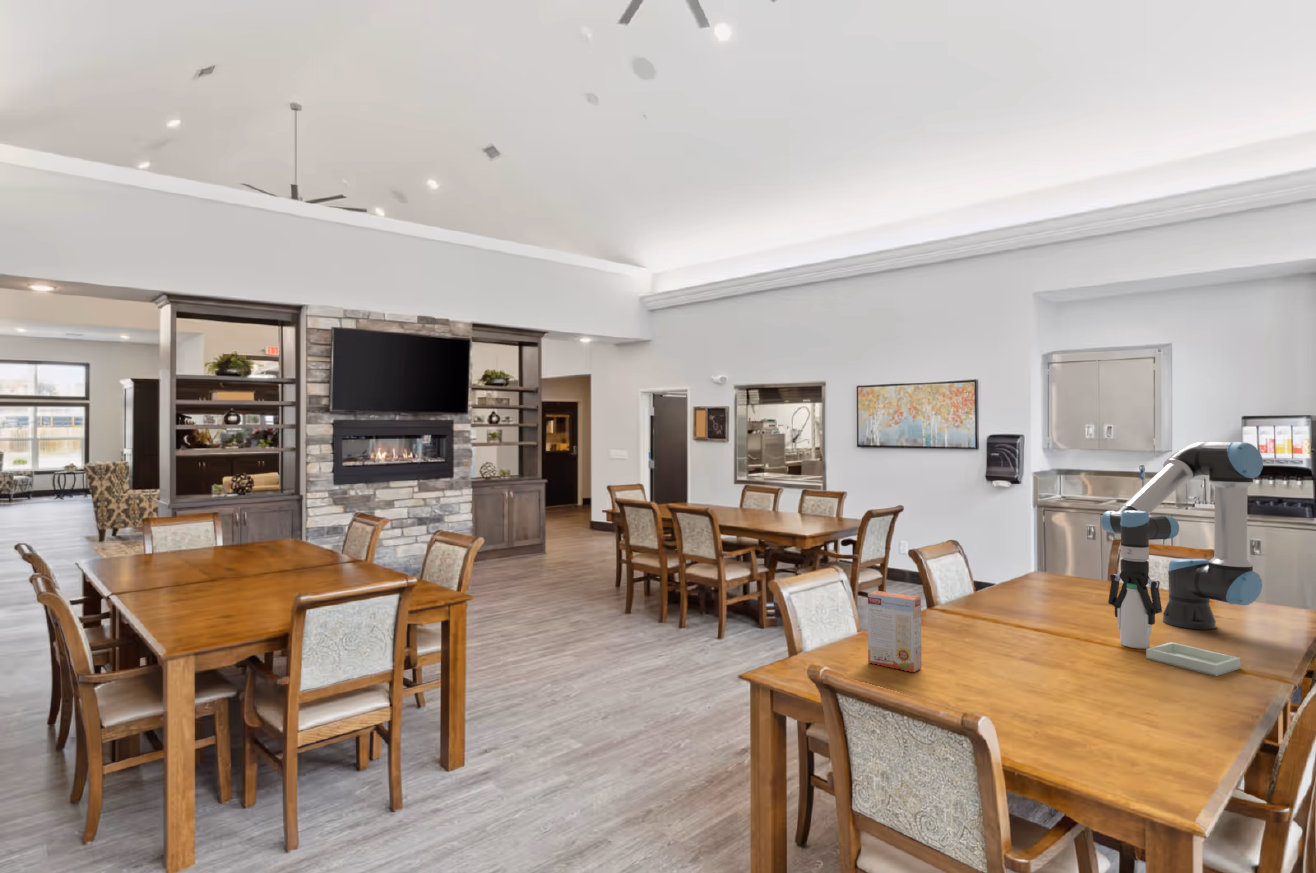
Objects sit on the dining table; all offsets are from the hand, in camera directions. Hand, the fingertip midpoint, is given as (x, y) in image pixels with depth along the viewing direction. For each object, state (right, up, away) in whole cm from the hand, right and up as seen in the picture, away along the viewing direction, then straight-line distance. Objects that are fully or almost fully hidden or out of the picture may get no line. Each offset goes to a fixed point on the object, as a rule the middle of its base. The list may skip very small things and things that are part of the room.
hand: (1134, 630), depth 228 cm
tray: (+5, -5, -18) cm, 19 cm away
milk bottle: (0, -5, 0) cm, 5 cm away
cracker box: (-83, -5, -19) cm, 85 cm away
